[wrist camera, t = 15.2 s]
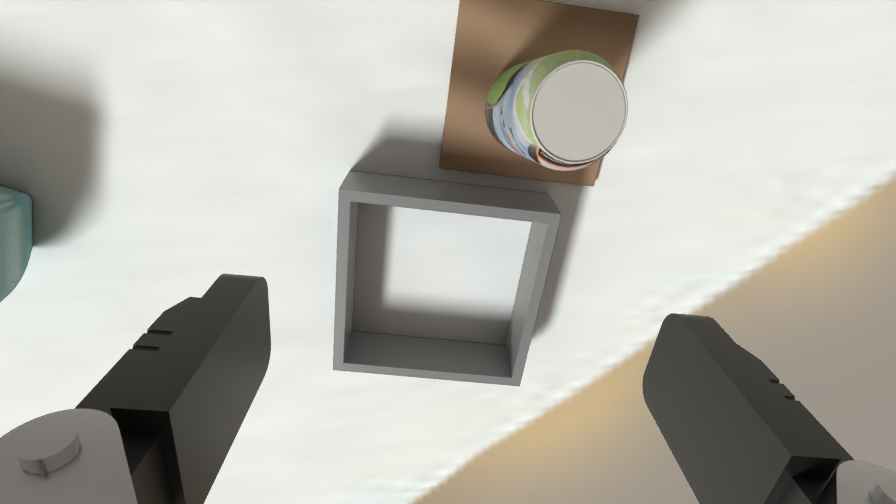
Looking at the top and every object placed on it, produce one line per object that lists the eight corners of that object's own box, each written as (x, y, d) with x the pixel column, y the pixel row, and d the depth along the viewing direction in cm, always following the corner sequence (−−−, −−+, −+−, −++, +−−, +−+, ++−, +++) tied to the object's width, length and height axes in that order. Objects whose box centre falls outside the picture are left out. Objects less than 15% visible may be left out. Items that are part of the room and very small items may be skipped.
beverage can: (473, 137, 36) (489, 188, 25) (502, 30, 33) (534, 36, 22) (554, 156, 37) (603, 214, 26) (589, 54, 34) (662, 71, 23)
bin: (349, 170, 37) (339, 188, 33) (548, 193, 38) (561, 214, 34) (342, 337, 44) (332, 369, 40) (512, 353, 45) (519, 386, 41)
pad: (461, -11, 32) (461, -11, 32) (636, 15, 33) (639, 15, 33) (439, 165, 37) (439, 168, 37) (591, 184, 38) (593, 186, 38)
